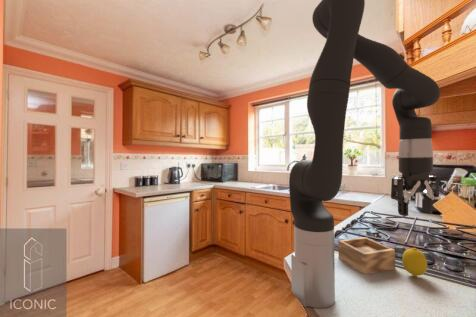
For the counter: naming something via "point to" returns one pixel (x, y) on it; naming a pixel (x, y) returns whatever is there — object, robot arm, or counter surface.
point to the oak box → (366, 255)
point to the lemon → (414, 262)
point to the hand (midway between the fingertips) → (415, 214)
